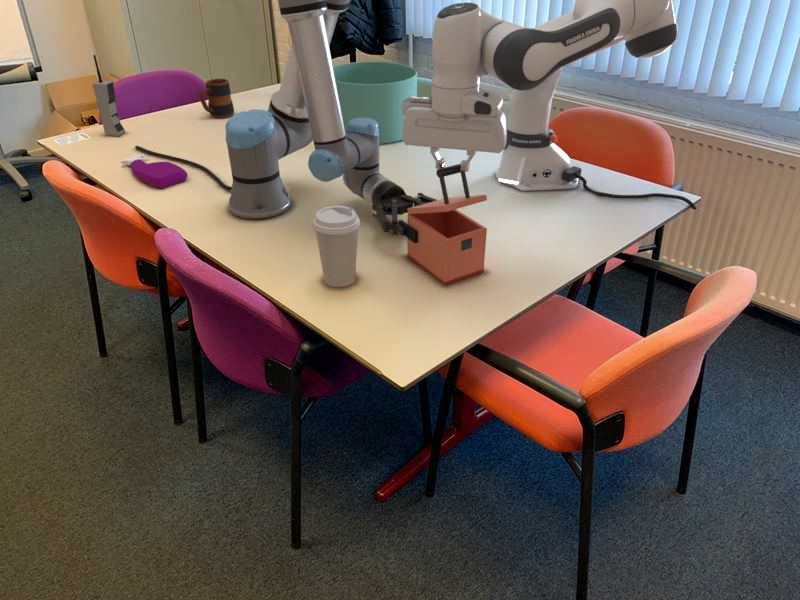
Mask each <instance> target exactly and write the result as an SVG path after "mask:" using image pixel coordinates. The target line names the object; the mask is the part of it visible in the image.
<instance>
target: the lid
mask: <svg viewBox="0 0 800 600" xmlns="http://www.w3.org/2000/svg"><path fill="white" fill-rule="evenodd" d="M460 168H461V163H457V164H454V165H450V166H445V167H444V168H441V169H436V172H435V173H436V176H437V177H438V178H439V182H440V188H441V193H442V198H441V199H436V200H437V201H433V202H430V203H426V204H422V205H419V206H415V207H414V206H413V207H411V208H408V209H407V210H408V213H407V215H408V214H418V213H436V212H448V211H451V210H455V209H456V210H459V209H462V208H465V207H469V206H472V205H475V204H479V203H482V202H486V201H488V197H487V194H477V195H470V190H469V189H470V188H469V185H468V179H467V175H466V172H465V171H460ZM456 174H460V176H461V182H462V186H463V192H464V196H455V197H449V195H448V190H447V185H446V180H445V177H448V176H452V175H456Z"/></svg>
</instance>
